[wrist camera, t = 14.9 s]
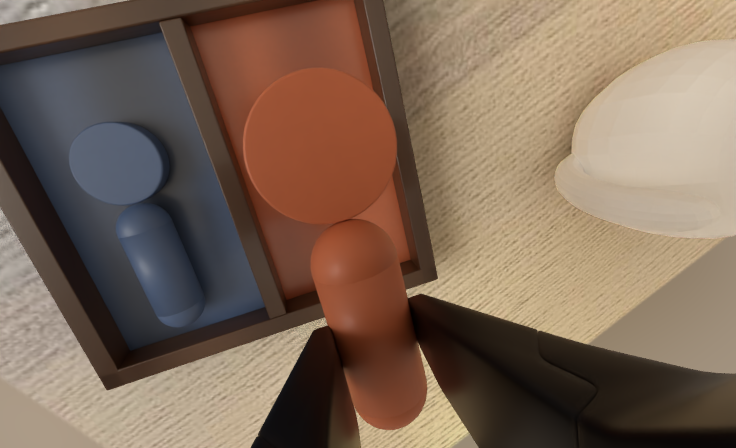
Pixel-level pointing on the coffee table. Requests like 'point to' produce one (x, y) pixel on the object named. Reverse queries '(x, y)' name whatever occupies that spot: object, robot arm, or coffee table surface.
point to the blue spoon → (140, 213)
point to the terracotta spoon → (343, 226)
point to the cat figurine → (661, 146)
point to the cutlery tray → (184, 164)
